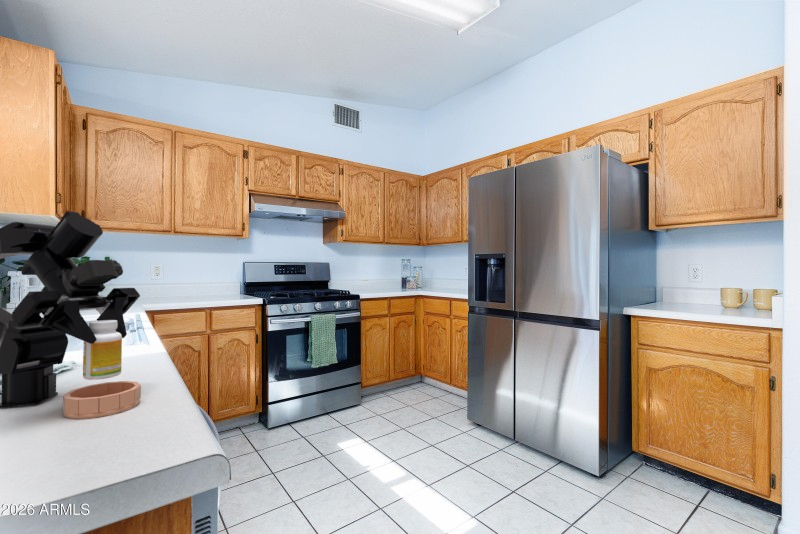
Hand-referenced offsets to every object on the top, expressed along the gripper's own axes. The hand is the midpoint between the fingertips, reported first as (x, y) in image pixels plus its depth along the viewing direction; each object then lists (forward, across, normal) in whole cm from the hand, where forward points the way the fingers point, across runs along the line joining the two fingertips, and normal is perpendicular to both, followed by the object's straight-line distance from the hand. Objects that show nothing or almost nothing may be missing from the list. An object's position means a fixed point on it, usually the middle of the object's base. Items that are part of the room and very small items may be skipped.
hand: (109, 339), depth 68 cm
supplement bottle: (+4, 0, +6) cm, 7 cm away
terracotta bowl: (+8, 0, +9) cm, 12 cm away
